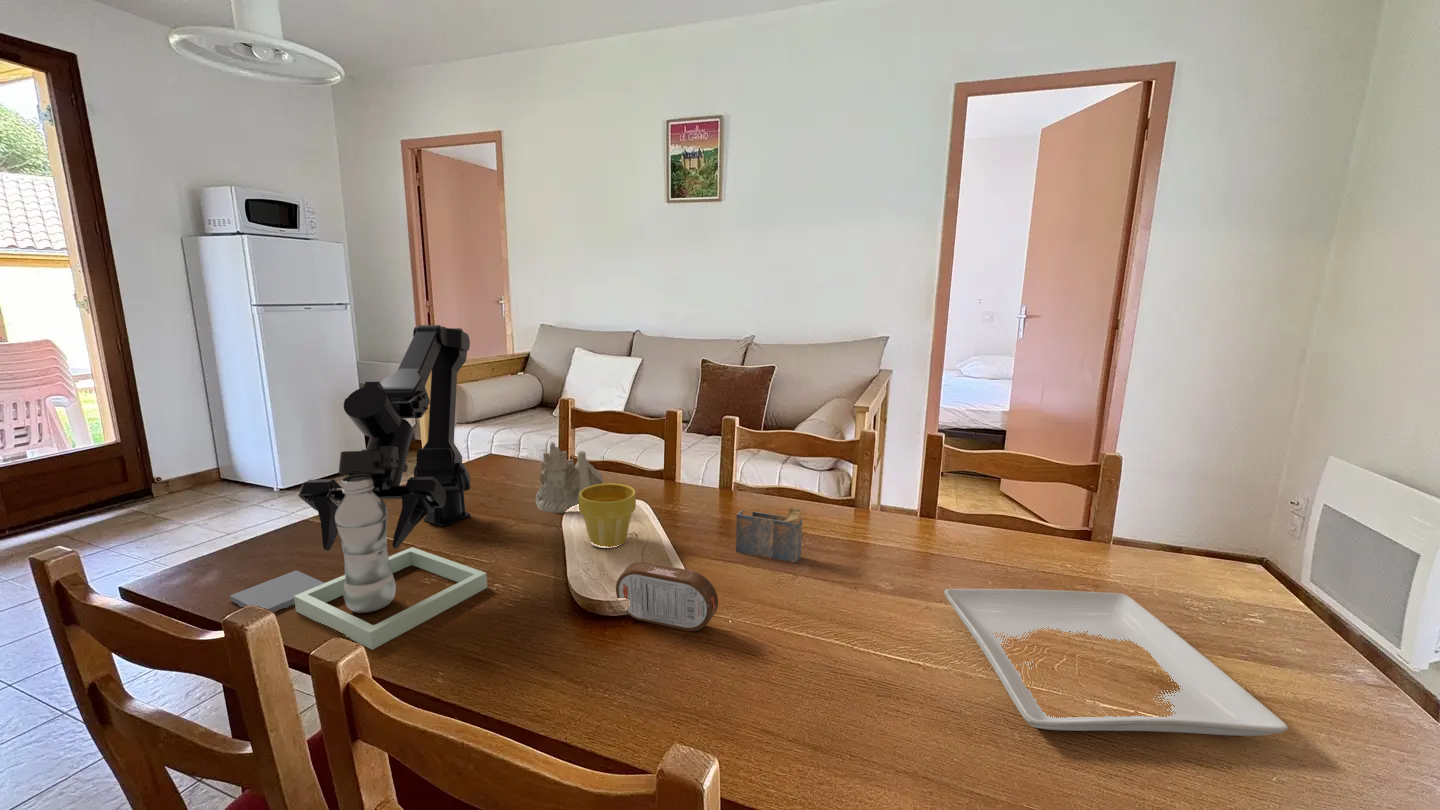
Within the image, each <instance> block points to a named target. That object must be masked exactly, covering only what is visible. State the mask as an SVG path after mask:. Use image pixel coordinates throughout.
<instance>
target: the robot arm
mask: <svg viewBox="0 0 1440 810" xmlns="http://www.w3.org/2000/svg"><path fill="white" fill-rule="evenodd" d="M412 335H413V336H412V340H411V342H410V344H409V345H408V347H407V350H406V352H405V353H404V356H403V358H402V360H401V362H400V365H399V366H398V368H397V370H396V371H395V372H394V373H392V374H390V375H388V376H386V377H385V378H383V379H382V381H376V380H375V381H365V382H364V386H363V387H361V388H358V389H356V390H354V391H353V392H352V393H350V394H349V395H348V396H347V397H346V398H345V399H344V402H343V410H344V412H345V414H346V415H347V416H348V417H349V418H350V420H351V421H352V422H353V423H354V425H355V426H356V427H357V428H358V429H359V431H360V432H361V433H362V434H363V435H364V436H366V437H369V439H368V443H367V446H366V449H361V450H352V451H351V450H350V451H349V450H348V451H346V450H345V451H341V452H340V456H339V466H338V474H337V475H348V476H352V475H358V474H369V475H371V476H372V480H373V484H374V489H373V490H372V491H373V493H375V494H376V495H377V496H378V497H379V498H380V499H381V500H401V511H400V515H399V518H398V521H397V524H396V528H395V531H394V534H393V539H392V545H391V546H392V547H393V549H399V547H400V546H401V545H402V544H403V542H404V541H406V538H407V537H408V536H409V535H410V533H411V532H412V531H413V530H414V528H415V527H416V526H417V525H418V524H419V523H420V522H421V521H422V520H423V521H425V522H427V523H431V524H434V525H436V526H437V525H438V526H441V527H446V526H449V525H452V524H455V523H457V522H460V521H463V520H464V519H467V518H469V517H471V516H472V514H471V513H470V512H466V505H465V504H466V503H465V491H470V490H471V475H470V473H469V471H468V469H467V468H466V466H465V465H464V463H463V456H462V453H461V452H460V450H459V448H458V447H457V446H456V443H455V428H456V427H455V426H456V425H455V424H456V404H457V388H458V387H457V385H458V381H457V379H458V372H459V370H460V369H461V368H462V367H463V365H464V364H465V363H466V361H467V354H468V351H469V350H470V347H471V345H470V344H471V341H470V336H469V334H468V333H467V332H465V331H464V330H463V328H461V327H460V328H459V327H456V328H455V327H445V326H442V325H440V324H436V325H435V324H432V325H431V324H419V325H418V326H415V327H414V329H413V332H412ZM430 376H431V377H430ZM429 377H430V393H429V394H430V397H429V394H428V392H427V389H426V384H427V382H428V380H429ZM428 409H429V412H428V414H429V415H428V417H429V418H428V434H427V442H426V443H425V444H424V445H423V447H422V448H419V449H418V450H417V452H416V462H415V463H416V464H415V466H414V468H413V476H411V477H409V478H408V479H407V481H406V485H401V481H402V478H403V473H408V468H409V466H408V464H407V463H406V461H407V459H408V457H407V456H408V453H409V450H410V446H411V443H412V442H414V441H416V434H415V433H414V428H413V426H412V425H411V423H410V422H409V421H407V419H422V417H424V415H425V412H427V411H428ZM297 495H298V497H299V499H302V501H304V502H305V504H308V505H309V507H311V508H312V509H313V510H315V511H317V513H318V518H319V521H320V528H321V538H322V539H321V540H322V548H323V550H325V551H326V552H329V551H331V549H332V547H333V545H334V543H335V541H336V538H337V536H338V534H339V533H338V530H337V526H336V523H335V513H336V510H337V508H338V506H339V504H340V503H341V501H342V500H343V498H344V497H345V494H343V493H342V485H340V484H339V483H338V482H337V481H336V480H335V479H334V478H328V479H326V478H324V479H322V478H321V479H308V480H306V481H305V482H303V484H301V486H300V489H299V492H298V494H297Z"/></svg>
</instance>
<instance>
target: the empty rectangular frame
mask: <svg viewBox="0 0 1440 810" xmlns="http://www.w3.org/2000/svg"><path fill="white" fill-rule="evenodd" d="M388 558H389V563H390V568H391V572H392V574H395V573H397V572H399V571H400V570H403V569H405V568H408V567H411V566H413V567H416V568H419V569H421V570H425V571H426V572H429V573H432V574H435V575H437V576H441V577H443V578H445V579H449V580H450V581H453V582H456V583H455V584H453V585H451V586H448V587H447V588H445V589H443V590H441V591H439V592H437V593H436V594H433V595H431V596H429V597H427V598H426V599H423V600H421V601H419V602H418V603H416V604H413V605H411V606H410V607H407V608H405V609H404V610H402V611H400V612H397V613H396V614H393V615H391V616H389V617H388V618H386V619H384V620H382V621H380V622H378V623H376V624H372V623H369V622H368V621H365V620H363V619H361V618H359V617H357V616H354V615H352V614H350V613H348V612H346V611H343V610H341V609H340V608H337V607H336V606H333V605H331V604H328V602H331V601H332V600H336V599H338V598H339V597H342V596H343V593H344V582H345V574H343V575H341V576H339V577H336V578H334V579H332V580H329V581H327V582H324V584H321V585H319V586H317V587H314V588H312V589H309V590H307V591H304V592H302V593H300V594H297V595H295V596H294V601H295V604H294V606H295V607H294V608H295V612H296V613H298V614H300V615H302V616H304V617H306V618H308V619H310V620H312V621H313V622H316V623H318V622H319V623H318V624H320V623H321V624H320V625H322V624H324V625H327V626H329V627H331V628H334V629H336V630H338V631H339V632H341V633H344V634H345V635H346V636H345V637H346V638H348V637H350V638H349V639H350V640H352V641H354V642H356V643H358V644H360V645H362V646H364V647H365V648H368V649H370V650H372V651H373V650H375V649H377V648H378V647H380V646H382V645H383V644H386V643H388V642H390V641H391V640H393V639H395V638H397V637H399V636H400V635H403V634H404V633H406V632H408V631H410V630H411V629H413V628H415V627H417V626H419V625H420V624H423V623H425V622H426V621H429V620H431V619H432V618H434V617H436V616H437V615H439V614H441V613H443V612H445V611H446V610H449V609H450V608H452V607H455V606H456V605H458V604H459V603H462V602H463V601H465V600H467V599H469V598H471V597H473V596H475V595H476V594H478V593H480V592H482V591H484V590H486V589H488V576H487V572H485V571H483V570H479V569H476V568H473V567H470V566H467V565H465V564H462V563H459V562H456V561H454V560H451V559H447V558H445V557H442V556H440V555H436V554H433V553H430V552H427V551H425V550H422V549H419V548H415V547H413V546H411V547H409V548H406V549H404V550H402V551H399V552H396V553H394V554H392V555H388ZM324 625H323V626H324Z"/></svg>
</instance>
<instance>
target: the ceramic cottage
mask: <svg viewBox="0 0 1440 810" xmlns="http://www.w3.org/2000/svg"><path fill="white" fill-rule="evenodd" d="M542 454H543V458H542V459H543V460H542V461H541V462H540V478H539V481H540V483H539V484H540V486H539V488H538V490H537V492H536V494H535V495H534V497H535V499H534V500H535V503H536V506H537V508H538V509H539V511H543V512H547V513H552V514H565V513H564V512H565V511H566V510H567V509H569V508H570V507H572V506H575V505H577V504H579V493H580V491H581V490H583V489H584V488H586V487H589V486H592V485H597V484H603V483H604V480H603V475H602V473H601V472H600V471H599V470H598V469H596V468H595V467H594V465H592V464H591V463H590V461H589V460H588V459H587V457H586V451H585V450H578V452H577V461H576V463H575V459H574V458H570V459H568V453H567V450H565V451H561V450H560V448H559V446H556V443H555V442H554V441H550V444H549V452H543V453H542ZM574 463H575V464H574Z"/></svg>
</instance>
